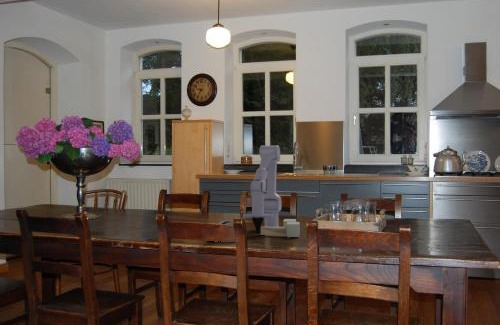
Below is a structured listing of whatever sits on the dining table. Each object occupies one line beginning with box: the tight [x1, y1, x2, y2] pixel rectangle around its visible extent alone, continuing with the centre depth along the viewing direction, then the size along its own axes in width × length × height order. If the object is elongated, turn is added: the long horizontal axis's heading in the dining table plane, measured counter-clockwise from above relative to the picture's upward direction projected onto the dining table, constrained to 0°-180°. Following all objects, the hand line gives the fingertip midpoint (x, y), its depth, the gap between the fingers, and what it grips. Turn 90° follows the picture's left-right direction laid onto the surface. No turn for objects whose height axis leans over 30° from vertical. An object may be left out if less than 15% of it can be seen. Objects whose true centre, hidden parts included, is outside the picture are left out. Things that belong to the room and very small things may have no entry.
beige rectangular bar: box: [260, 226, 287, 237], centre depth 235 cm, size 4×14×4 cm, turn 83°
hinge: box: [217, 220, 234, 225], centre depth 223 cm, size 17×5×10 cm, turn 154°
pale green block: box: [282, 218, 297, 227], centre depth 243 cm, size 8×6×6 cm
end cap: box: [286, 221, 301, 238], centre depth 233 cm, size 8×6×6 cm
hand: (258, 233), depth 235 cm, fingers closed
